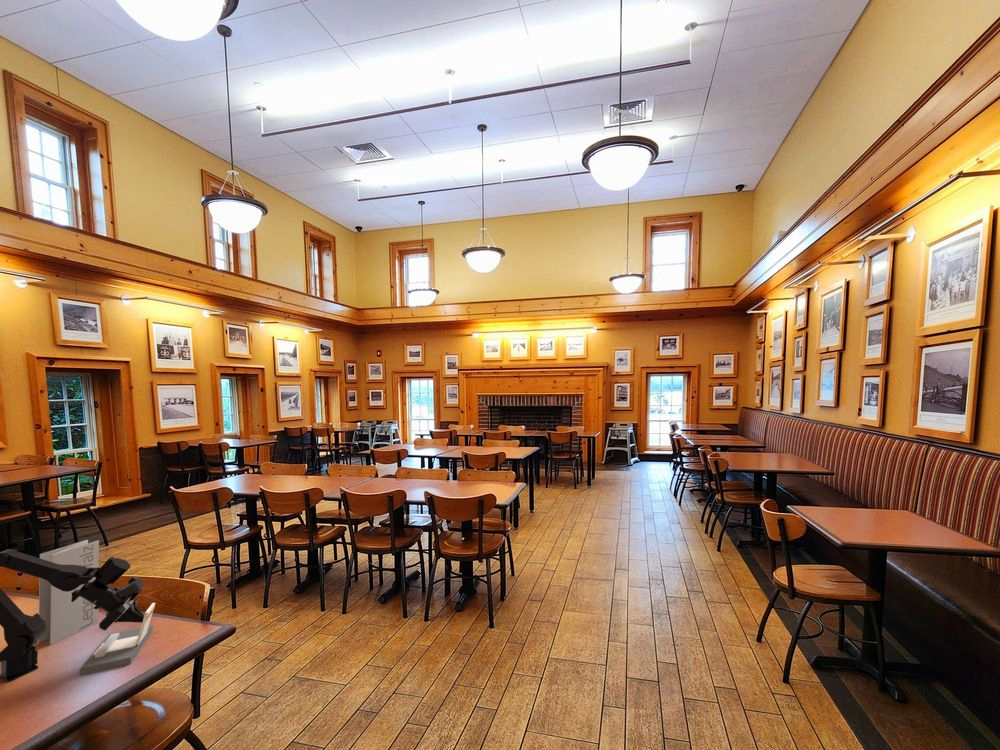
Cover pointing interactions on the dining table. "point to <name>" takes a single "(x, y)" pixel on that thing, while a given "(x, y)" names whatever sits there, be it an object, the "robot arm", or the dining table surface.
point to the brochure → (67, 594)
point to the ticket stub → (145, 623)
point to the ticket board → (115, 651)
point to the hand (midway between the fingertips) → (144, 620)
